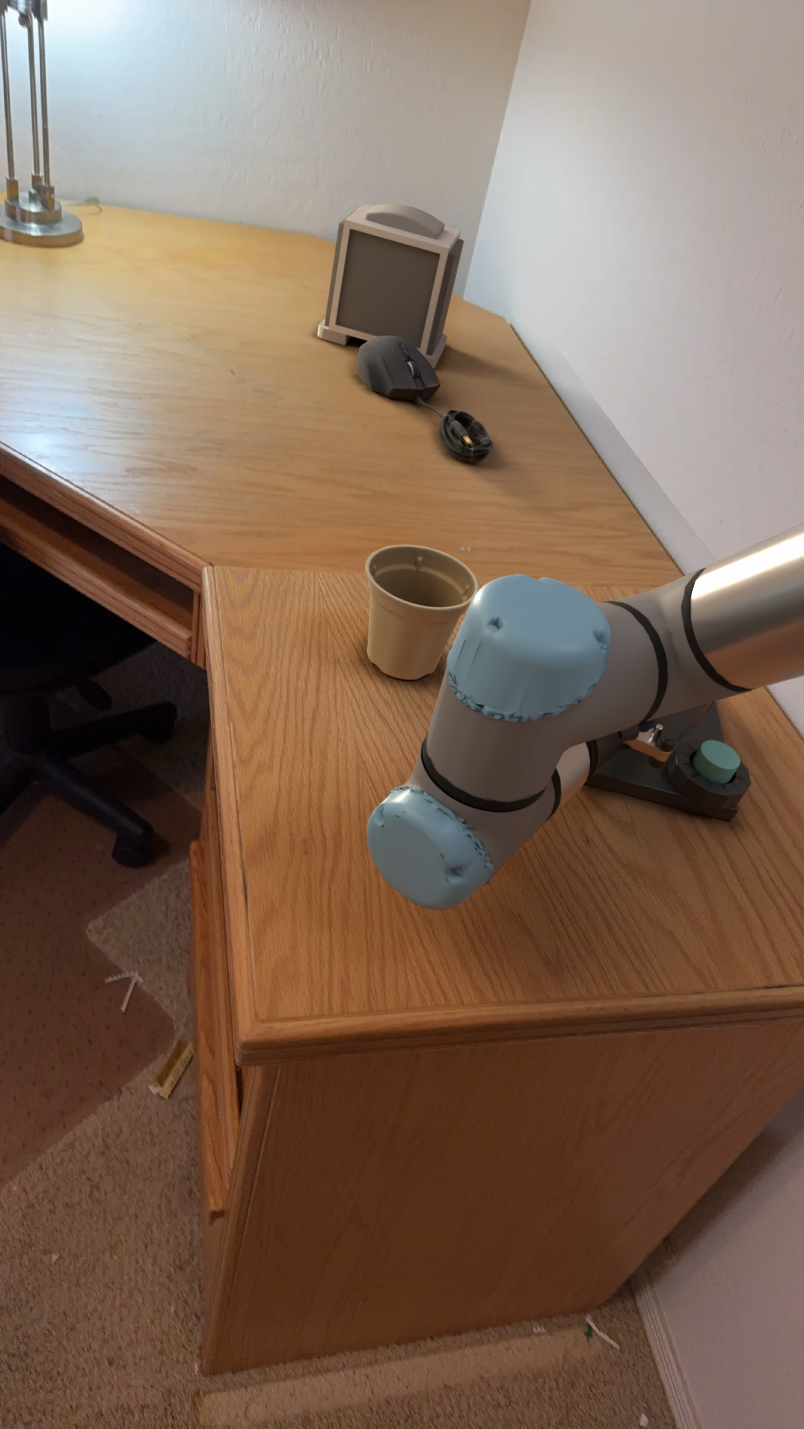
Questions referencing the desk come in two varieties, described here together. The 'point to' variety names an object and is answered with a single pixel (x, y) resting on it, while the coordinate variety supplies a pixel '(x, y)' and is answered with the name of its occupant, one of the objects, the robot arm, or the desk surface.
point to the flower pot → (414, 607)
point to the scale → (676, 774)
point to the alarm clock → (392, 278)
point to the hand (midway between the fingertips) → (679, 627)
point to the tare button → (716, 761)
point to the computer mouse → (419, 391)
